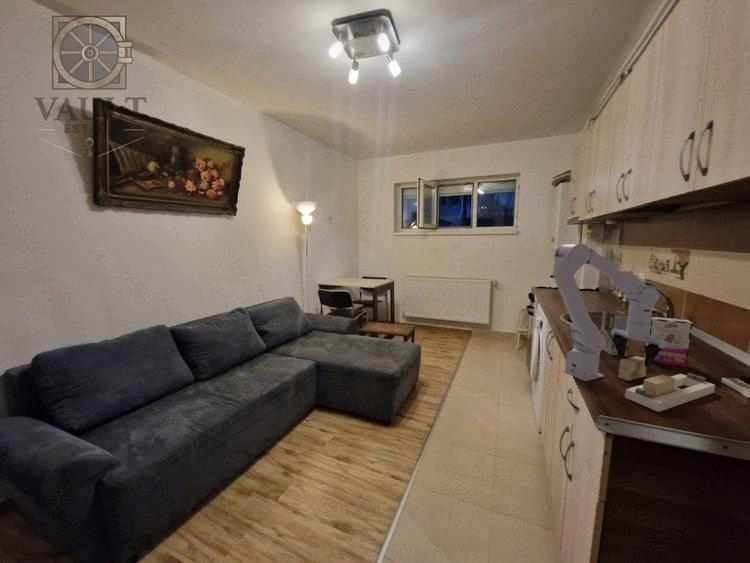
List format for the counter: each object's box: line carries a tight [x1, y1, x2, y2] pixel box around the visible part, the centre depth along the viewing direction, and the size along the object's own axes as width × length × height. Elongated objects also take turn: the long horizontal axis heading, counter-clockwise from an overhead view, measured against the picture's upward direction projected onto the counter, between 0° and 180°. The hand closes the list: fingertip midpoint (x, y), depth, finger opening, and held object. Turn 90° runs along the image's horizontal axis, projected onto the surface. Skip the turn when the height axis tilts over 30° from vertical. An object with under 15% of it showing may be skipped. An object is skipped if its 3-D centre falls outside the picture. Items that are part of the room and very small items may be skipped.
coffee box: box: [600, 309, 631, 357], centre depth 125 cm, size 9×6×16 cm
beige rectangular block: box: [617, 355, 647, 382], centre depth 103 cm, size 9×3×6 cm, turn 112°
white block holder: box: [624, 372, 716, 413], centre depth 91 cm, size 28×8×6 cm, turn 112°
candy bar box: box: [645, 316, 694, 368], centre depth 114 cm, size 11×5×16 cm, turn 58°
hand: (633, 362), depth 103 cm, fingers open, 7 cm apart
